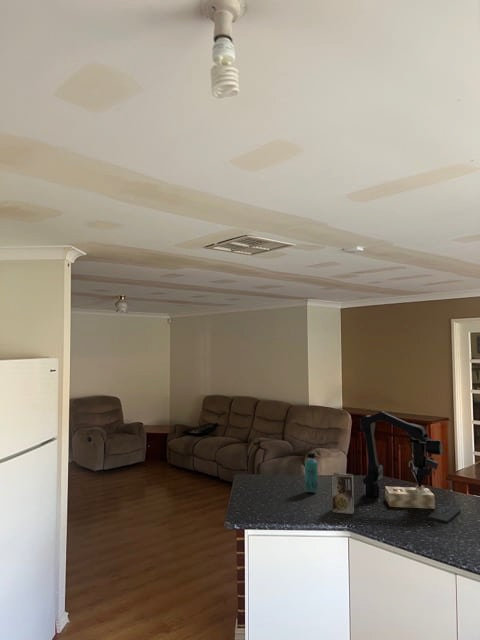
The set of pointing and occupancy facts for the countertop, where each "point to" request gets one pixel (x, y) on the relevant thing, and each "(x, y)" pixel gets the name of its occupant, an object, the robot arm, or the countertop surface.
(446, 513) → the smart home device
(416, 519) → the countertop surface
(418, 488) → the steel peg
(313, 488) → the beverage bottle
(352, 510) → the coffee box
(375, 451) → the robot arm
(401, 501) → the birch block
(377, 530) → the countertop surface
